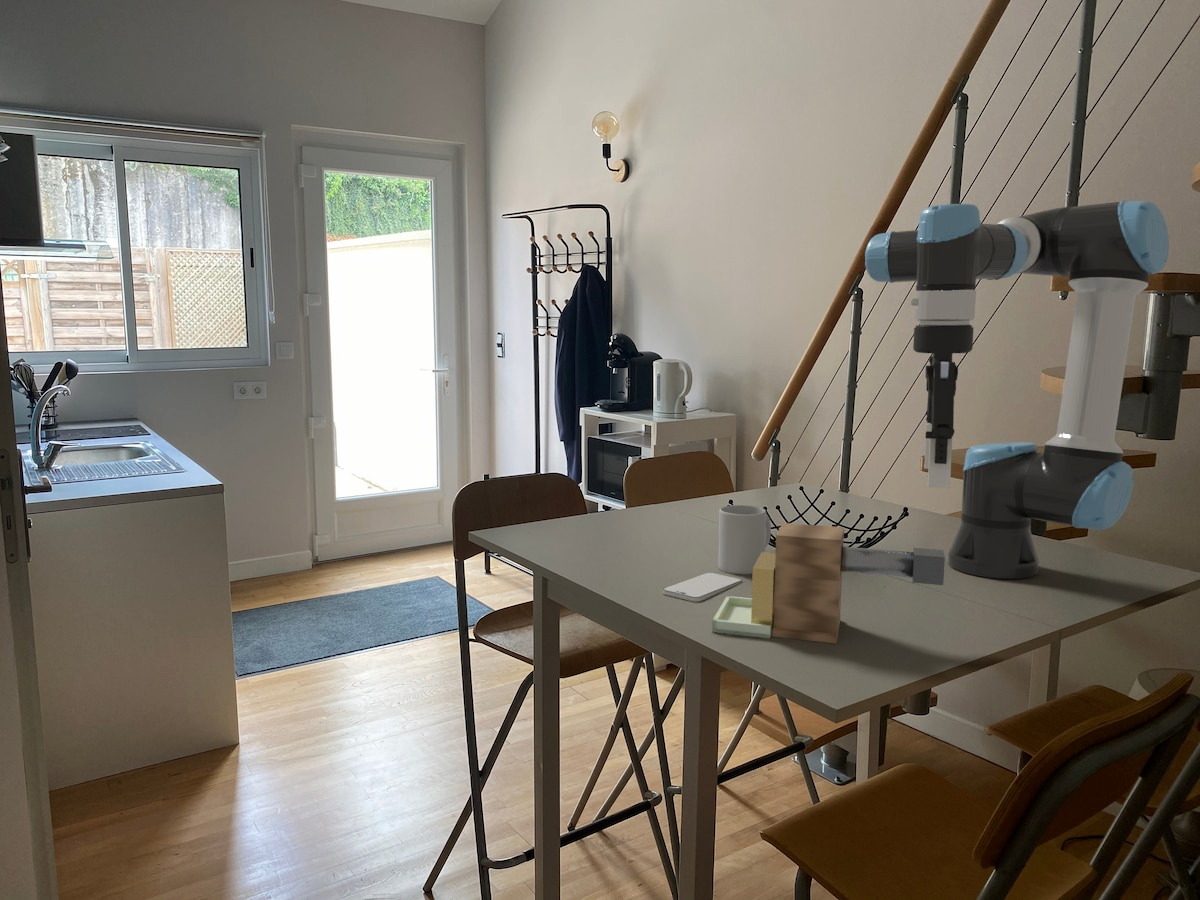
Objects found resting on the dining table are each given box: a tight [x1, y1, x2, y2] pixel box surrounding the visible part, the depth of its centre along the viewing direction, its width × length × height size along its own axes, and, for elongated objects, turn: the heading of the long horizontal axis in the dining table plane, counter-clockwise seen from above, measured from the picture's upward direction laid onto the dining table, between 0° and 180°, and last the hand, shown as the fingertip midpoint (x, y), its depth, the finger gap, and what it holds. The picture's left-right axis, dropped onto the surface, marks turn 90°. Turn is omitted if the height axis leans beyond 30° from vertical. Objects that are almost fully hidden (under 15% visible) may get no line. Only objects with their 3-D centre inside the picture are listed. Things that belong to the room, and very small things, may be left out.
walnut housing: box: [771, 522, 845, 644], centre depth 130 cm, size 9×10×15 cm
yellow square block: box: [751, 551, 776, 631], centre depth 132 cm, size 3×9×9 cm, turn 162°
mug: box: [717, 504, 772, 576], centre depth 162 cm, size 12×8×11 cm
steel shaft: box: [840, 546, 946, 586], centre depth 127 cm, size 20×4×4 cm, turn 72°
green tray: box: [711, 595, 772, 639], centre depth 134 cm, size 8×12×2 cm
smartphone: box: [662, 572, 743, 603], centre depth 151 cm, size 7×1×15 cm
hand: (936, 477), depth 123 cm, fingers open, 13 cm apart
